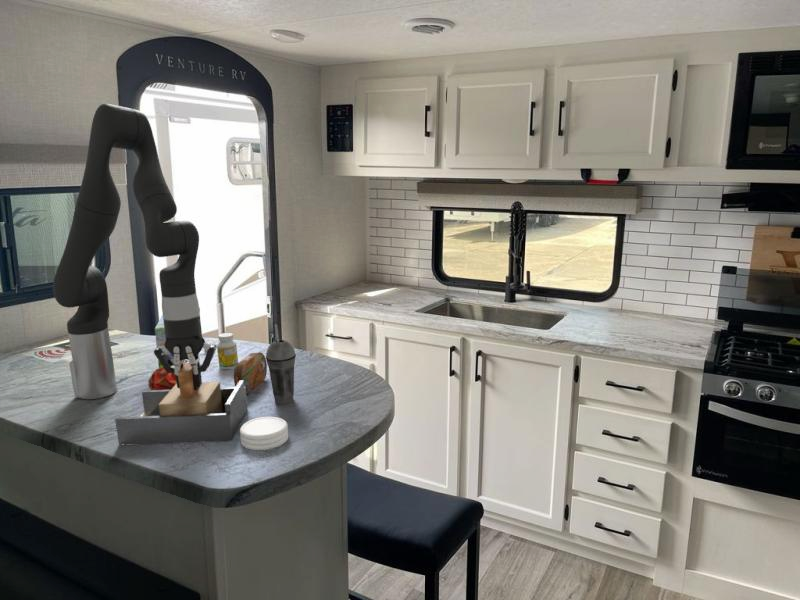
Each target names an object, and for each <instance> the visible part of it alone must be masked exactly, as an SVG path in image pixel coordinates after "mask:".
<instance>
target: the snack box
mask: <svg viewBox="0 0 800 600" xmlns="http://www.w3.org/2000/svg"><path fill="white" fill-rule="evenodd" d="M154 333H155V335H154V336H155V344H156V349H157V348H158V347H159V346H163V345H164V344H165V341H166V336H165V328H164V320H163V314H162V315H161V316H160V318H159V320H158V322H157V324H156V325H155V328H154ZM167 352H168V353H167V355H168V356H169V358H170V359H171V361H172V362H173V364H174V356H173V355H172V354H171V353H170V352H169V351H168V350H167ZM185 360H186V359H184V362H185ZM157 363H158V369H159V368H162V367H163V366H162V364H161V363H160V361H159V360H158V359H157Z"/></svg>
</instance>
